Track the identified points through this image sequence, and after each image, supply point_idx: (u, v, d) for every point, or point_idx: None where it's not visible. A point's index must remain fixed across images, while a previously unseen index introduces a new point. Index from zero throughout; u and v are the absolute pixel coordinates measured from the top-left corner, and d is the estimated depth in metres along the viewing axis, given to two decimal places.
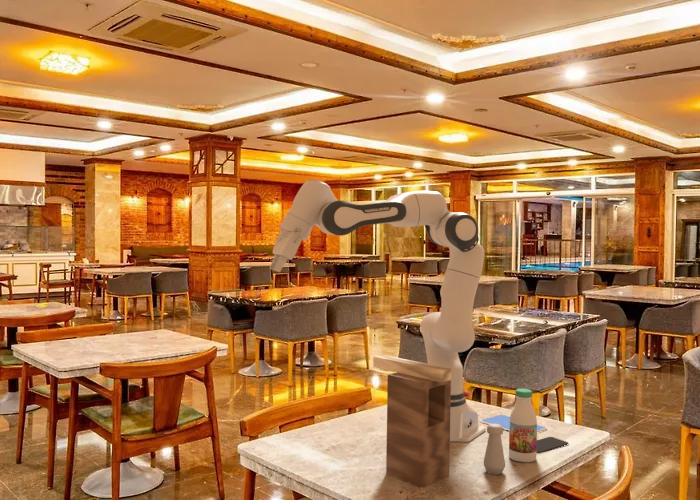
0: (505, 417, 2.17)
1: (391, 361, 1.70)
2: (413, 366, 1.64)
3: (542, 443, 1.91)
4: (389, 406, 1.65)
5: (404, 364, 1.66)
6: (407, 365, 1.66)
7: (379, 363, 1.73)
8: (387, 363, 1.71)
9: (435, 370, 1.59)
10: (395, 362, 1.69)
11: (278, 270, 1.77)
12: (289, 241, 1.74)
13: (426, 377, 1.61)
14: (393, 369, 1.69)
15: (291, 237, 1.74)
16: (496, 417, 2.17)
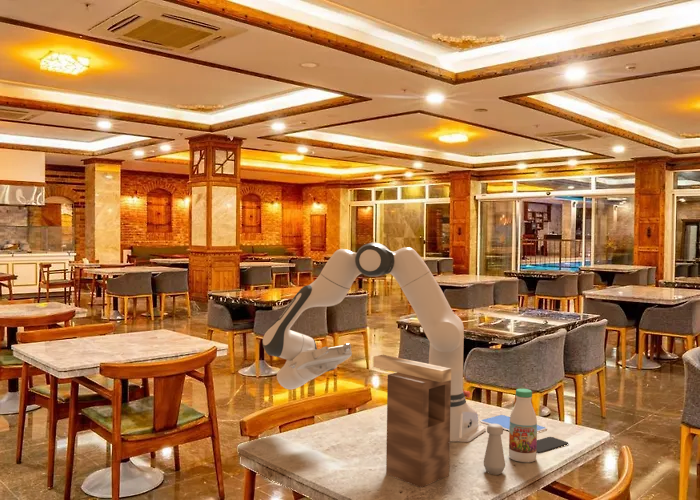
0: (505, 417, 2.17)
1: (391, 361, 1.70)
2: (413, 366, 1.64)
3: (542, 443, 1.91)
4: (389, 406, 1.65)
5: (404, 364, 1.66)
6: (407, 365, 1.66)
7: (379, 363, 1.73)
8: (387, 363, 1.71)
9: (435, 370, 1.59)
10: (395, 362, 1.69)
11: (323, 349, 1.84)
12: (298, 366, 1.86)
13: (426, 377, 1.61)
14: (393, 369, 1.69)
15: (296, 367, 1.87)
16: (496, 417, 2.17)
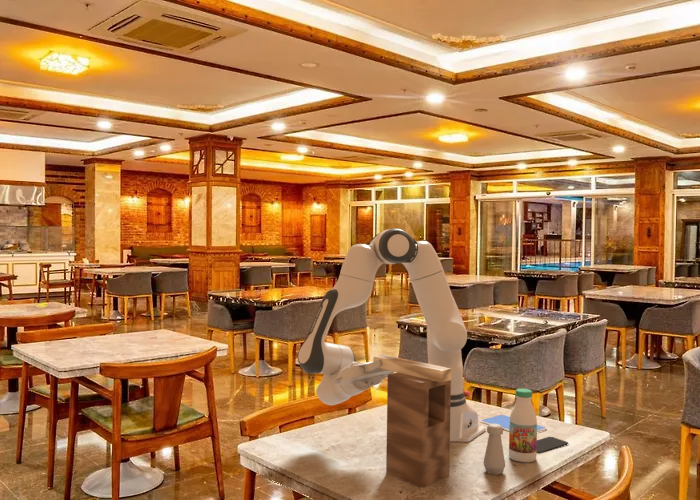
0: (505, 417, 2.17)
1: (391, 361, 1.70)
2: (413, 366, 1.64)
3: (542, 443, 1.91)
4: (389, 406, 1.65)
5: (404, 364, 1.66)
6: (407, 365, 1.66)
7: None
8: (387, 363, 1.71)
9: (435, 370, 1.59)
10: (395, 362, 1.69)
11: (377, 362, 1.72)
12: (344, 381, 1.72)
13: (426, 377, 1.61)
14: (393, 369, 1.69)
15: (342, 383, 1.73)
16: (496, 417, 2.17)
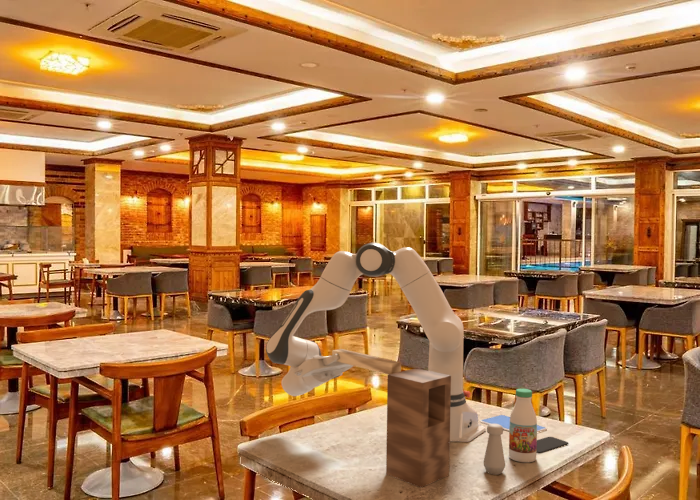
0: (505, 417, 2.17)
1: (347, 355, 1.82)
2: (366, 360, 1.76)
3: (542, 443, 1.91)
4: (389, 406, 1.65)
5: (359, 358, 1.79)
6: (361, 359, 1.78)
7: None
8: (344, 357, 1.83)
9: (385, 363, 1.71)
10: (351, 356, 1.81)
11: (335, 355, 1.84)
12: (304, 373, 1.84)
13: (378, 370, 1.73)
14: (349, 362, 1.81)
15: (302, 375, 1.85)
16: (496, 417, 2.17)
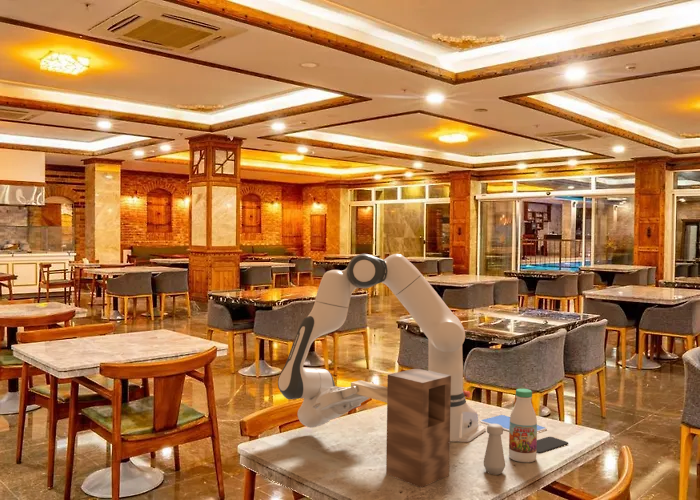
0: (505, 417, 2.17)
1: (367, 388, 1.77)
2: None
3: (542, 443, 1.91)
4: (389, 406, 1.65)
5: (379, 391, 1.73)
6: (382, 392, 1.73)
7: None
8: (363, 390, 1.78)
9: None
10: (371, 389, 1.76)
11: (354, 388, 1.78)
12: (322, 407, 1.79)
13: None
14: (369, 395, 1.76)
15: (320, 408, 1.80)
16: (496, 417, 2.17)
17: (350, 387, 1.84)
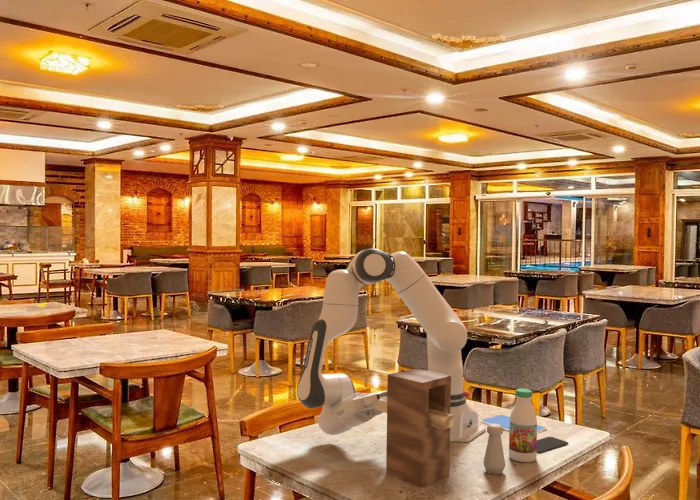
0: (505, 417, 2.17)
1: None
2: None
3: (542, 443, 1.91)
4: (389, 406, 1.65)
5: None
6: None
7: (381, 406, 1.73)
8: None
9: (437, 417, 1.59)
10: None
11: (374, 396, 1.70)
12: (346, 414, 1.72)
13: (428, 423, 1.61)
14: None
15: (344, 415, 1.73)
16: (496, 417, 2.17)
17: (374, 393, 1.76)
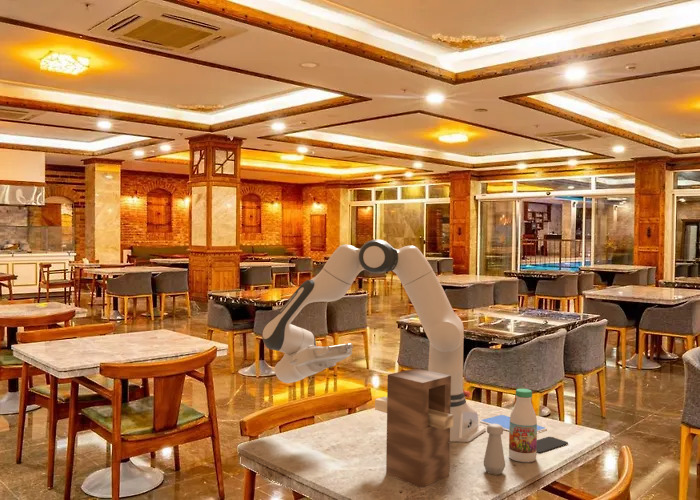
0: (505, 417, 2.17)
1: None
2: None
3: (542, 443, 1.91)
4: (389, 406, 1.65)
5: None
6: None
7: (381, 406, 1.73)
8: None
9: (437, 417, 1.59)
10: None
11: (325, 348, 1.84)
12: (299, 363, 1.86)
13: (428, 423, 1.61)
14: None
15: (297, 364, 1.87)
16: (496, 417, 2.17)
17: None
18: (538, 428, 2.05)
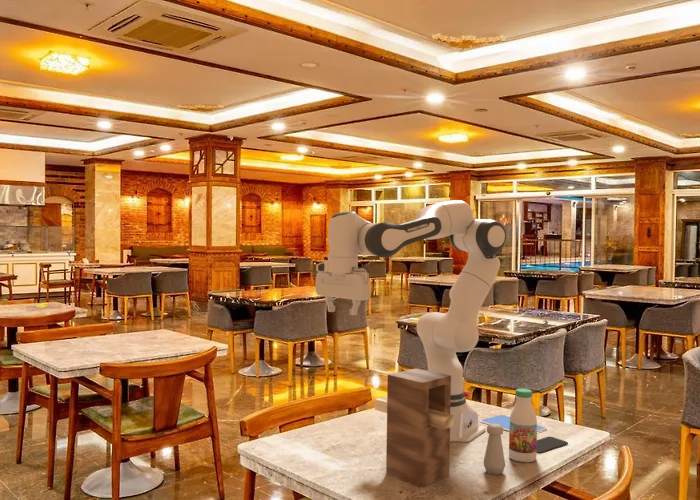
0: (505, 417, 2.17)
1: None
2: None
3: (542, 443, 1.91)
4: (389, 406, 1.65)
5: None
6: None
7: (381, 406, 1.73)
8: None
9: (437, 417, 1.59)
10: None
11: (356, 313, 1.78)
12: (362, 285, 1.74)
13: (428, 423, 1.61)
14: None
15: (362, 280, 1.74)
16: (496, 417, 2.17)
17: None
18: (538, 428, 2.05)
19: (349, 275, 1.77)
